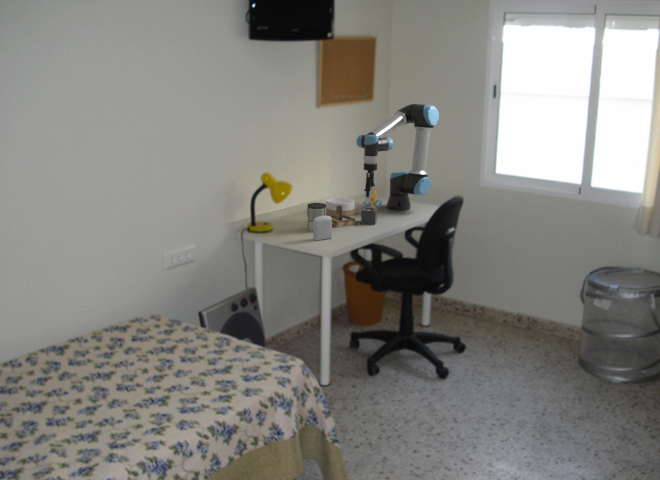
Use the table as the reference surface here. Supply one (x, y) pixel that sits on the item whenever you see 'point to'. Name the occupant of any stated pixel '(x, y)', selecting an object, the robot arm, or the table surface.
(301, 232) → the table surface
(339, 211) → the plate
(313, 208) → the coffee can
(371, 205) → the orange tube with rings
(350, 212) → the bowl
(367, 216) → the hollow dark grey cube
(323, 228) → the photo printer
